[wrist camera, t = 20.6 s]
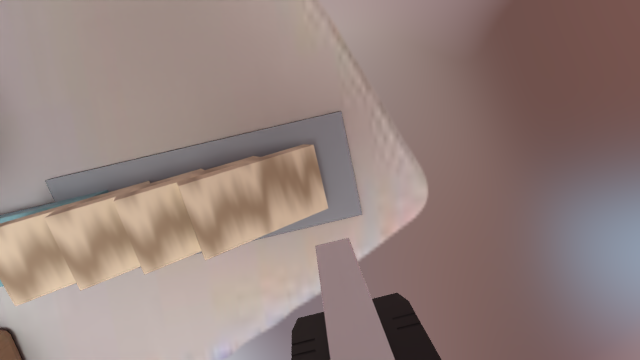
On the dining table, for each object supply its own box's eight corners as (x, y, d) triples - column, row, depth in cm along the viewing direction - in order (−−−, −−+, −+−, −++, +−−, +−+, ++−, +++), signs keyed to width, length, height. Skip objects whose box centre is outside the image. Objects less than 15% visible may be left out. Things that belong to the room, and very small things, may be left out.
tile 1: (303, 144, 32) (176, 182, 27) (313, 144, 30) (178, 186, 25) (317, 204, 34) (201, 251, 29) (328, 208, 32) (205, 260, 27)
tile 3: (201, 168, 32) (52, 211, 27) (204, 170, 30) (44, 218, 25) (220, 227, 34) (85, 279, 28) (225, 232, 32) (80, 290, 26)
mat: (48, 179, 32) (44, 180, 32) (340, 111, 32) (341, 111, 32) (94, 276, 35) (92, 278, 35) (361, 213, 35) (362, 214, 35)
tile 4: (149, 180, 32) (-12, 226, 26) (149, 183, 30) (-26, 234, 24) (171, 239, 34) (25, 294, 28) (173, 245, 32) (15, 306, 26)
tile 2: (253, 155, 32) (116, 196, 27) (260, 156, 30) (113, 201, 25) (270, 215, 34) (145, 264, 29) (278, 220, 32) (144, 274, 27)
